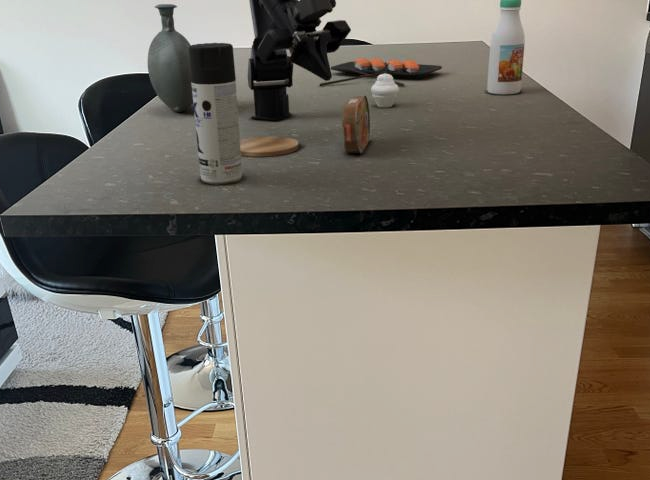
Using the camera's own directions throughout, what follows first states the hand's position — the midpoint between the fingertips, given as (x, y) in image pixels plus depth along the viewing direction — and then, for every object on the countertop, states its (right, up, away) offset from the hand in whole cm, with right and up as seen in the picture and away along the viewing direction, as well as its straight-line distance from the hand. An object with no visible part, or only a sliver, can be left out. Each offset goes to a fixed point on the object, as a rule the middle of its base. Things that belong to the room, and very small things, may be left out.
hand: (329, 79), depth 137 cm
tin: (+5, -12, +1) cm, 13 cm away
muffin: (+13, +6, +34) cm, 37 cm away
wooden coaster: (-12, -12, +3) cm, 17 cm away
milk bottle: (+42, +13, +44) cm, 62 cm away
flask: (-34, +6, +36) cm, 50 cm away
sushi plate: (+12, +24, +67) cm, 72 cm away
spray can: (-17, -21, -14) cm, 31 cm away
